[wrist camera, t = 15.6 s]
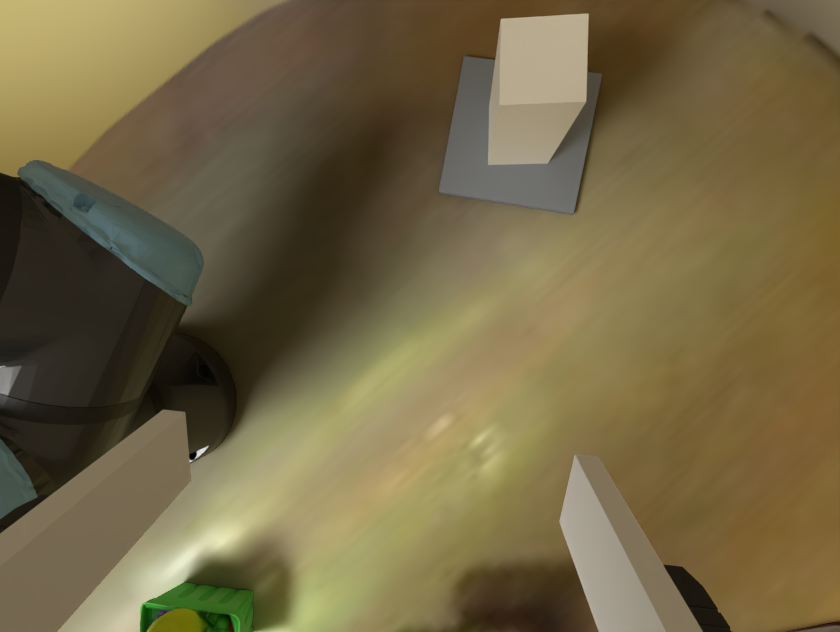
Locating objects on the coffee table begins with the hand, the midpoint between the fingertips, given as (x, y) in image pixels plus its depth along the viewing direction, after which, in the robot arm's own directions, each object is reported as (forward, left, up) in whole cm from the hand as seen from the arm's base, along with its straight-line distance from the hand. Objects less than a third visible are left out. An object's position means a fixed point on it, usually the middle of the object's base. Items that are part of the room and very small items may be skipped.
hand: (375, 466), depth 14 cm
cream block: (+4, +24, -30) cm, 38 cm away
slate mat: (+4, +24, -30) cm, 39 cm away
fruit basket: (-20, -34, -31) cm, 50 cm away
